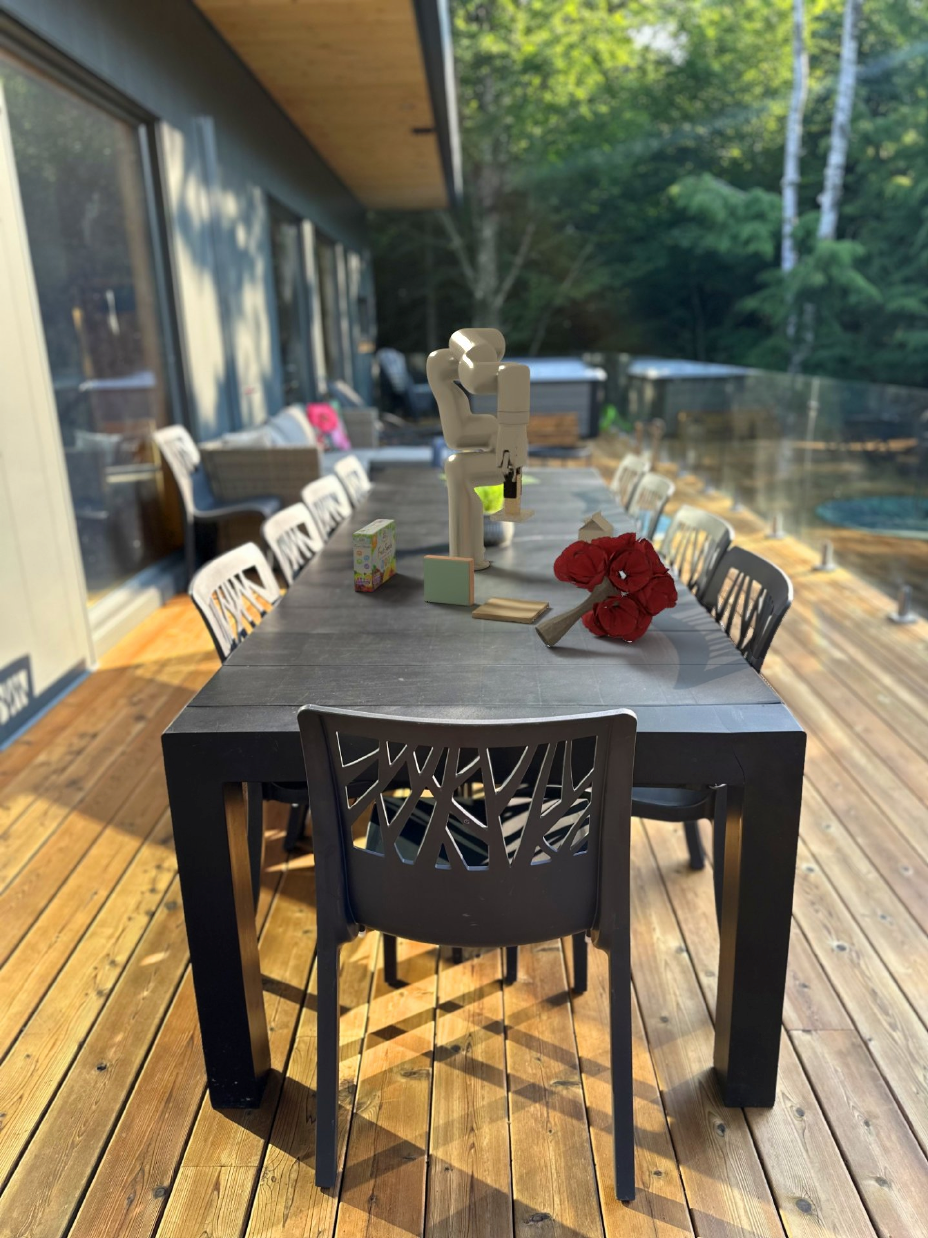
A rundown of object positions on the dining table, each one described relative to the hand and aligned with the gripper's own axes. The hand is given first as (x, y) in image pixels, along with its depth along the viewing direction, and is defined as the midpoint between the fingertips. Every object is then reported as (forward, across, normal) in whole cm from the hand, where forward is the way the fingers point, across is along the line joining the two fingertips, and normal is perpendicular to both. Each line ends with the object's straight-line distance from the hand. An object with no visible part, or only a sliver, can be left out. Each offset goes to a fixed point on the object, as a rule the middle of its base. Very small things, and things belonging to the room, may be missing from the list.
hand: (512, 496), depth 217 cm
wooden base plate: (+24, +15, +5) cm, 29 cm away
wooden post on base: (+5, 0, 0) cm, 5 cm away
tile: (+25, +12, -12) cm, 30 cm away
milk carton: (+25, -15, +18) cm, 34 cm away
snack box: (+26, -1, -38) cm, 46 cm away
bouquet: (+24, +28, +29) cm, 47 cm away
